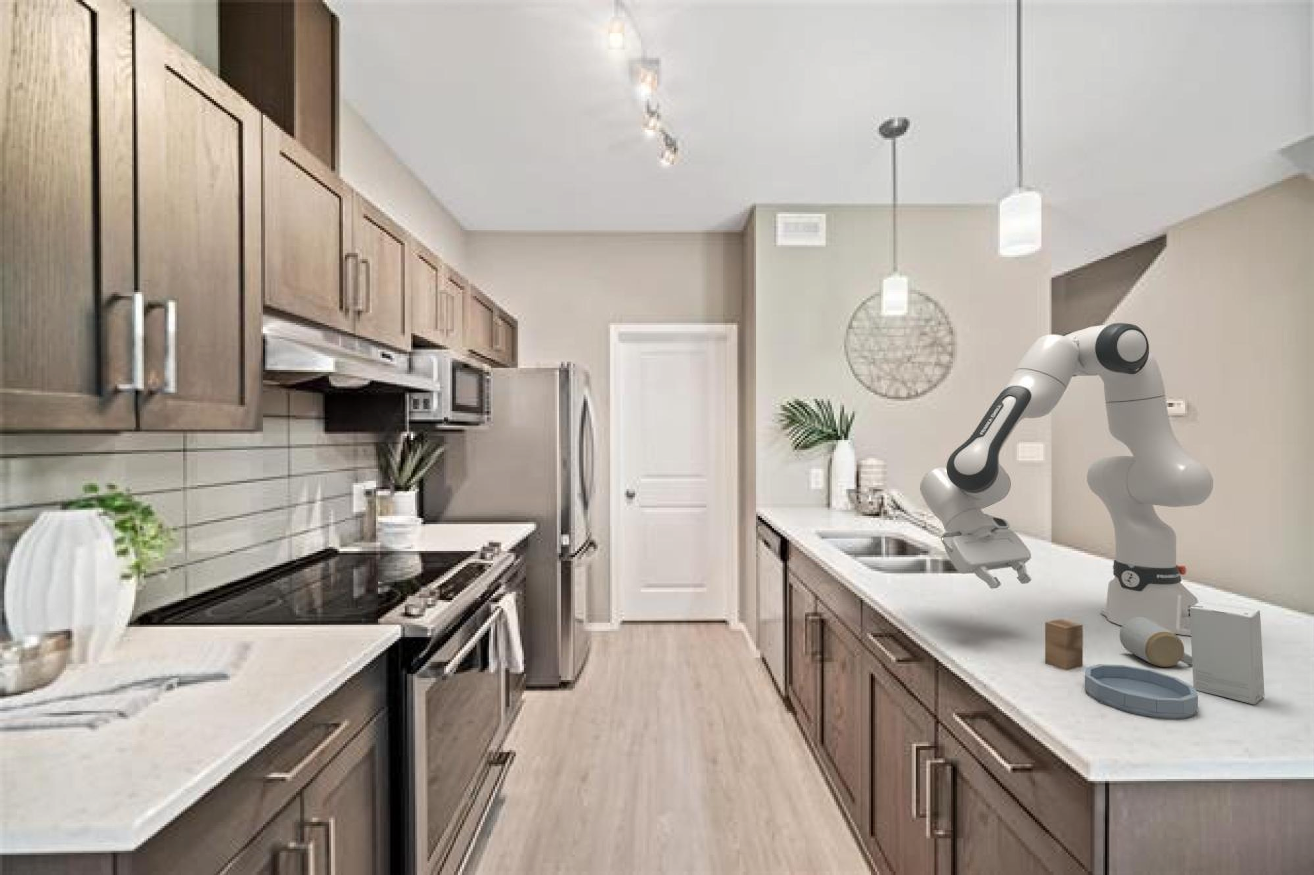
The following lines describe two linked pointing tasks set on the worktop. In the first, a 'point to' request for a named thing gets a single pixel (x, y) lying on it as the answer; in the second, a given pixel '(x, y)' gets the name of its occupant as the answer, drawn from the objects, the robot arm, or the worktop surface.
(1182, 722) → the worktop surface
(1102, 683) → the slate bowl
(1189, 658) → the ceramic mug
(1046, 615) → the worktop surface
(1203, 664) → the skincare box
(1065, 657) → the walnut block
